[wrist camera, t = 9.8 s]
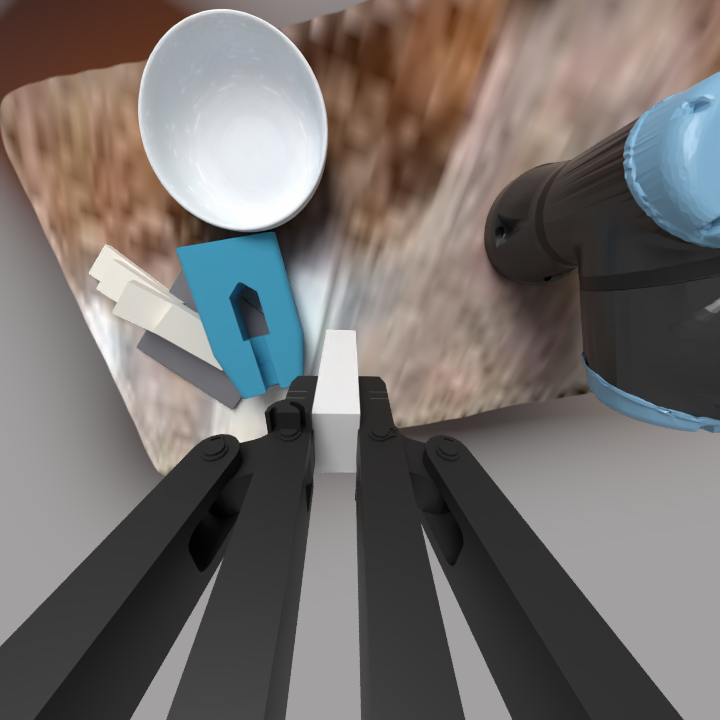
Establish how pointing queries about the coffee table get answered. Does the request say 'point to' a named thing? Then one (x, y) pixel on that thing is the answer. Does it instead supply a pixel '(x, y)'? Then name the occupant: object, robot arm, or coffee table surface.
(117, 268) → the domino
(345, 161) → the coffee table surface
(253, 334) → the domino mat
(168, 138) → the serving bowl
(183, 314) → the domino
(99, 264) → the domino
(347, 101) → the coffee table surface
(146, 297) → the domino
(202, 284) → the block
